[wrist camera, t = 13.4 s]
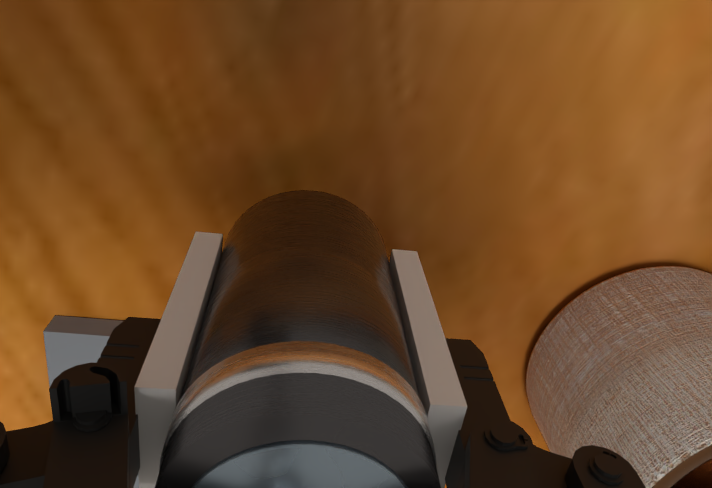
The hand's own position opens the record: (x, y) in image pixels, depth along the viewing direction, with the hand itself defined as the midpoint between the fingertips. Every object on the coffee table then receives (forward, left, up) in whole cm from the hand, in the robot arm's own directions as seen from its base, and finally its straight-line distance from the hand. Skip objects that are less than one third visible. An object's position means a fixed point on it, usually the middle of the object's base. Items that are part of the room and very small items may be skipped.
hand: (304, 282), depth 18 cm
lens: (0, 0, -1) cm, 1 cm away
